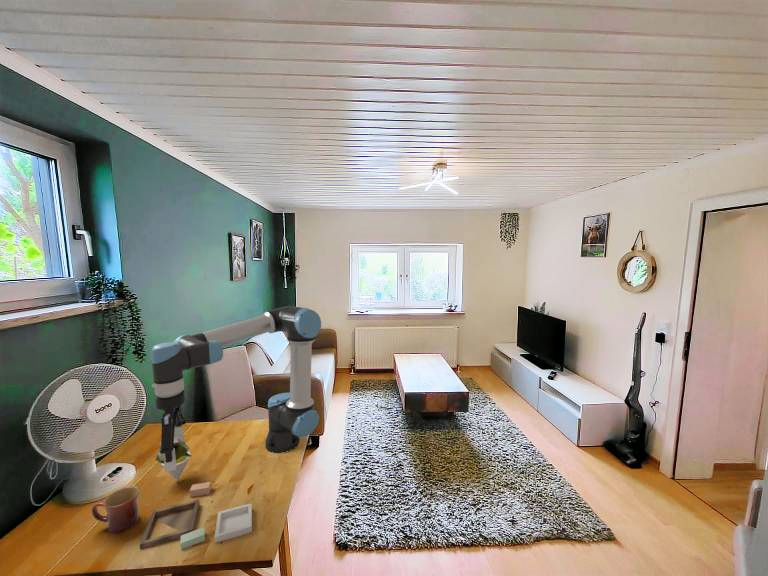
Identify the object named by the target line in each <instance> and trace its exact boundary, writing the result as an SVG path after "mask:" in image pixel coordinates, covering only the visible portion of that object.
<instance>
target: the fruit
mask: <svg viewBox="0 0 768 576" xmlns="http://www.w3.org/2000/svg"><path fill="white" fill-rule="evenodd" d="M158 444H159V446H158V447H159V449H158V451H157V452H158V453H157V454H156V457H155V460H156V461H157V462H159V463H160V464H161V463H164V455H163V454H161V453H160V450H161V442H159V443H158ZM174 448H175V458H176V460H177V459H179V458H180V457H182V456H188V457H190V458H191V457H192V455H190V454H188V453H187V451H188V452H189V450H190V446H188V445H187V443H186V441H185V439H184V441H181V440H180V439H178V438H175V437H174Z"/></svg>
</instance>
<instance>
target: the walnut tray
mask: <svg viewBox="0 0 768 576" xmlns="http://www.w3.org/2000/svg"><path fill="white" fill-rule="evenodd" d="M199 508H200V499H195V500H194V499H193V500H190V501H187V502H183V503H179V504H176V505H170V506H167V507H162V508H160V509H155V510H153V511H152V512H151V514H150V518H149V520H148V523H147V525H146V527H145V530H144V533H143V535H142V538H141V540H140V543H139V549H141V550H142V549H145V548H148V547H152V546H155V545H156V546H157V545H159V544H163V543H167V542H171V541H174V540H179V539H181V536H182V535H184V534H187V533H189V532H192V531H195V527H196V526H195V525H196V522H197V517H198V513H199ZM155 521H157V522H160V523H161V524H164V525H165V526H168V527H170V528H172V529H175V530H177V531H174V532H170V533H167V534H163V535H160V536H156V537H153V538H149V536H150V535H151V532H152V529H153V527H154V524H155ZM148 538H149V539H148Z"/></svg>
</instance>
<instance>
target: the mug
mask: <svg viewBox="0 0 768 576" xmlns="http://www.w3.org/2000/svg"><path fill="white" fill-rule="evenodd" d="M140 491H141V489H140V488H139V486H126V487H123V488H120V489H117V490H115V491H114V492H112V493H110V494H109V495H107V497H106V498H105V499H104V500H100V501H98V502H96V503H94V505H93V506H92V508H91V513H92V516H93V518H94V519H95V520H96V521H99V522H102V523H107V529H108V531H109V533H112V534H119V533H122V532H125V531H127V530H130V528H131V529H132V528H133V527H134V526H135V525H136V524H137V523H138V521H139V515H140V512H139V510H140V509H139V505H138V504H139V503H138V500H139V495H140ZM98 507H103V508H104V509H105V510H106V514H107V515H101V514H100V513H99V511H98Z"/></svg>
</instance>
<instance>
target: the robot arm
mask: <svg viewBox="0 0 768 576" xmlns="http://www.w3.org/2000/svg"><path fill="white" fill-rule="evenodd" d="M321 329H322V320H321V316H320V315H319V313H318V312H316V311H315V310H313V309H310V308H307V307H301V306H300V307H299V306H294V305H287V306H286V305H285V306H283V307H278V308H274V309H271V310H268V311H264V312H263V314H262V315H259V316H255V317H251V318H249V319H246V320H242V321H238V322H235V323H230V324H228V325H224V326H221V327H217V328H214V329H210V330H207V331H204V332H199V333H195V334H192V335H190V334H183V335H179V336H178V337H177V338H176V339H175V340H173V341H168V342H167V341H165V342H162V343H158V344H156V345H153V347H152V348H151V365H152V366H151V367H152V375H153V384H152V385H151V388H153V389H154V394H155V396H154V400H155V408H156V409H157V410H160V411H164V413H162V417H161V419H160V421H161V438H160V439H161V441H160V443H161V450H160V453H161V454H163V455H164V465H165V468H164V472H165V473H169V472H168V471H172V470H176V458H175V448H174V437H175V438H178V439H180V440H181V441H184V440H185V432H184V430H185V429H184V425H186V424H187V423H186V420H185V416H184V413H183V408H182V405H183V404H184V403H185V402H186V395H185V394H186V393H185V390H184V389H185V382H184V381H185V380H184V371H188V370H192V369H196V368H201V367H204V366H208V365H213V364H215V363H216V364H217V363H218V362H221V361H222V360H223V357H224V349H223V348H224V347H226V346H227V347H228V346H230V345H232V344H236V343H240V342H242V341H245V340H248V339H252V338H254V337H257V336H260V335H264V334H266V333H268V334H274V333H277V332H285V333H286V335H287V336H286V337H287V338H286V341H287V342H288V343H290V367H289V368H290V371H289V372H290V373H289V374H290V375H289V376H290V377H289V379H290V380H289V381H290V382H289V392H282V393H278V394H275V395H272V396H271V397H270V398H269V399H268V402H267V412H268V432H267V435H266V439H265V442H264V443H265V445H264V447H265V450H266V449H267V450H268V451H267V450H266V451H267V452H270V453H272V452H273V453H272V454H282V453H281V452H285V453H287V452H286V451H288V452H290V451H289V450H291V449H293V450H294V449H296V448H297V447H298V446H299V445H298V444H300V442H301V441H300V439H301V438H306V437H308V436H310V435H311V434H313V432H314V431H315V430H316V428H317V426H318V424H319V421H320V416H319V413H318V412H317V410H316V409H315V401H314V399H313V398H312V397H311V393H312V392H311V391H312V389H311V388H312V352H313V351H312V350H313V349H312V348H313V347H312V346H313V343H314V342H315V341H316V336H317V335H319V332H321ZM295 447H296V448H295ZM291 451H292V450H291Z"/></svg>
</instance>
